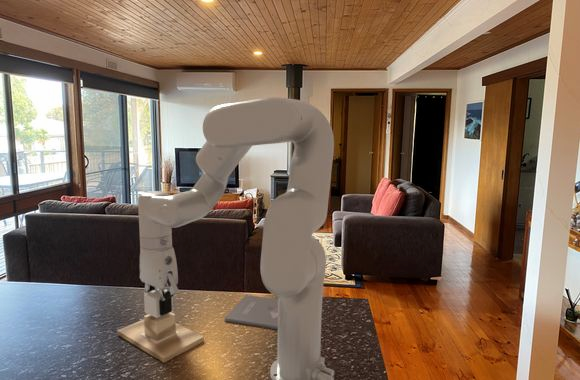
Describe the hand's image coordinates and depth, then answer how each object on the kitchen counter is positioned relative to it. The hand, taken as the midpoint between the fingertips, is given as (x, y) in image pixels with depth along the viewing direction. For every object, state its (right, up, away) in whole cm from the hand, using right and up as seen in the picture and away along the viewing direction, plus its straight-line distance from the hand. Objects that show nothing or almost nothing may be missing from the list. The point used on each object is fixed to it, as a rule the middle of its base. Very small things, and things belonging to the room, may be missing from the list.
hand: (159, 309), depth 103 cm
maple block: (0, -6, +1) cm, 7 cm away
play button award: (+27, -7, +16) cm, 32 cm away
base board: (0, -8, +1) cm, 8 cm away
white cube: (0, -1, 0) cm, 1 cm away
